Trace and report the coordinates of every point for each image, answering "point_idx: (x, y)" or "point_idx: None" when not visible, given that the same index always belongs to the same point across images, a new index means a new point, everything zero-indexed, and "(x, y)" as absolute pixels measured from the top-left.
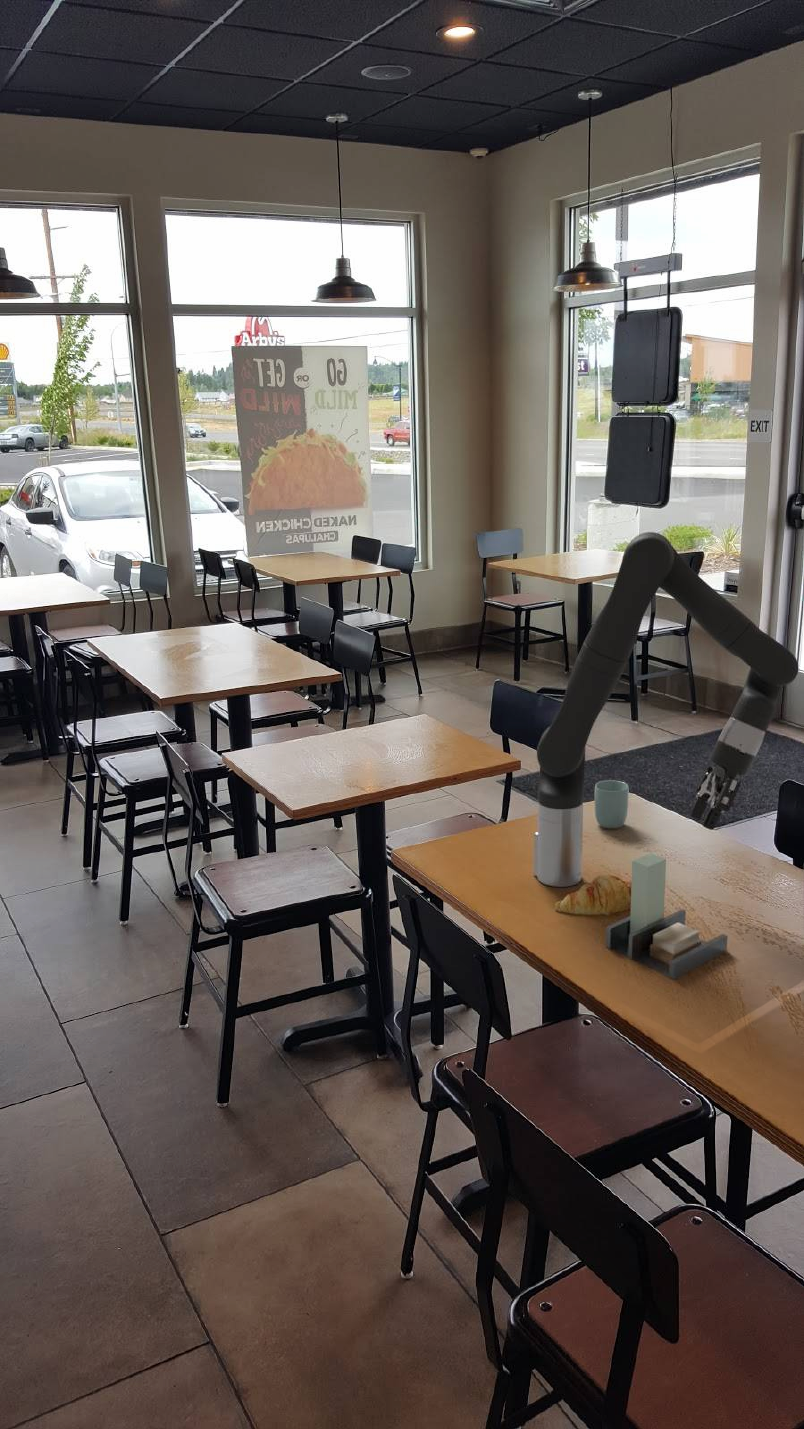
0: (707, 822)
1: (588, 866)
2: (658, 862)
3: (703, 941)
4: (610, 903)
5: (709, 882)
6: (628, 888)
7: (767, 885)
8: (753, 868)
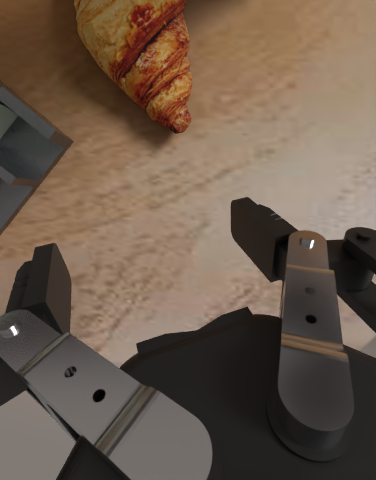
0: (22, 269)
1: (320, 3)
2: None
3: (5, 218)
4: (78, 25)
5: None
6: (116, 59)
7: None
8: None
